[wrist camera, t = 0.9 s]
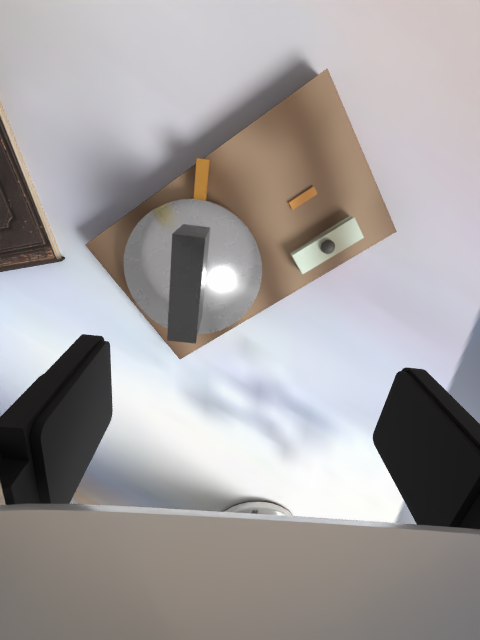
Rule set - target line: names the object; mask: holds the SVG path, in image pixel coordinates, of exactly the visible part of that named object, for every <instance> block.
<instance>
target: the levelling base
mask: <svg viewBox="0 0 480 640" xmlns="http://www.w3.org/2000/svg"><path fill="white" fill-rule="evenodd" d="M204 159H206V160H210V164H209V176H208V188H207V201H211V202H214V203H217V204H219V205H221V206H223V207H225V208H227V209H229V210H230V211H231V212H233V213H234V214H236V215H237V216H238V217H239V218H240V219H241V220H242V221H243V222H244V223H245V225H246V226H247V227H248V229H249V230H250V232H251V233H252V235H253V237H254V239H255V241H256V244H257V246H258V249H259V252H260V256H261V262H262V279H261V284H260V289H259V292H258V294H257V297H256V299H255V301H254V302H253V304H252V306H251V307H250V309H249V310H248V311H247V312H246V313H245V314H244V315H243V317H241V318H240V319H239V320H238V321H237V322H235V323H234V324H232V325H230V326H229V327H227V328H225V329H222V330H220V331H217V332H213V333H208V334H199V335H198V337H197V341H196V344H194V343H185V342H176V341H167V332H168V328H165V327H163V326H162V325H160V324H158V323H156V322H155V321H154V320H152V319H151V318H150V317H149V316H147V315H146V314H145V313H144V312H143V311H142V310H141V308H140V307H139V306H138V305H137V303H136V302H135V300H134V299H133V297H132V295H131V293H130V291H129V288H128V286H127V283H126V279H125V274H124V253H125V248H126V245H127V242H128V239H129V237H130V235H131V233H132V231H133V229H134V228H135V227H136V225H137V224H138V222H139V221H140V220H141V219H142V218H143V217H144V216H145V215H147V214H148V213H149V212H151V211H152V210H153V209H155V208H157V207H159V206H161V205H163V204H166V203H169V202H172V201H176V200H181V199H194V187H195V173H196V164H195V165H194V166H193V167H191V168H190V169H189V170H187V171H186V172H184V173H183V174H182V175H180V176H179V177H178V178H176V179H175V180H173V181H172V182H171V183H169V184H168V185H167V186H165V187H164V188H162V189H161V190H160V191H158V192H157V193H156V194H154V195H153V196H152V197H150V198H149V199H147V200H146V201H145V202H143V203H142V204H141V205H139V206H138V207H136V208H135V209H134V210H132V211H131V212H130V213H128V214H127V215H125V216H124V217H123V218H121V219H120V220H119V221H117V222H116V223H114V224H113V225H112V226H110V227H109V228H108V229H106V230H105V231H104V232H102V233H101V234H99V235H98V236H97V237H95V238H94V239H93V240H91V241H90V242H88V243H87V244H86V246H87V247H88V249H89V250H90V251H91V252H92V254H93V255H94V256H95V257H96V258H97V260H98V261H99V262H100V263H101V264H102V266H103V267H104V268H105V269H106V270H107V272H108V273H109V274H110V275H111V277H112V278H113V279H114V280H115V281H116V283H117V284H118V285H119V286H120V287H121V289H122V290H123V291H124V292H125V293H126V295H127V296H128V297H129V298H130V300H131V301H132V302H133V303H134V304H135V306H136V307H137V308H138V309H139V310H140V312H141V313H142V314H143V315H144V316H145V318H146V319H147V320H148V321H149V323H150V324H151V325H152V326H153V327H154V329H155V330H156V331H157V332H158V333H159V335H160V336H161V337H162V338H163V339H164V341H165V342H166V343H167V344H168V346H169V347H170V348H171V349H172V350H173V352H174V353H175V354H176V355H177V356H178V358H179V359H181V358H183V357H185V356H187V355H188V354H190V353H192V352H193V351H195V350H197V349H198V348H200V347H202V346H203V345H205V344H207V343H209V342H210V341H212V340H214V339H215V338H217V337H219V336H220V335H222V334H224V333H225V332H227V331H229V330H231V329H232V328H234V327H236V326H237V325H239V324H241V323H242V322H244V321H246V320H247V319H249V318H251V317H253V316H254V315H256V314H258V313H259V312H261V311H263V310H264V309H266V308H268V307H270V306H271V305H273V304H275V303H276V302H278V301H280V300H281V299H283V298H285V297H286V296H288V295H290V294H292V293H293V292H295V291H297V290H298V289H300V288H302V287H303V286H305V285H307V284H308V283H310V282H312V281H314V280H315V279H317V278H319V277H320V276H322V275H324V274H325V273H327V272H329V271H330V270H332V269H334V268H336V267H337V266H339V265H341V264H342V263H344V262H346V261H347V260H349V259H351V258H352V257H354V256H356V255H358V254H359V253H361V252H363V251H364V250H366V249H368V248H369V247H371V246H373V245H374V244H376V243H378V242H380V241H381V240H383V239H385V238H386V237H388V236H390V235H391V234H393V233H395V232H397V231H396V229H395V227H394V224H393V222H392V220H391V217H390V215H389V213H388V210H387V208H386V205H385V203H384V201H383V198H382V196H381V194H380V191H379V189H378V187H377V184H376V182H375V180H374V177H373V175H372V172H371V170H370V168H369V165H368V163H367V161H366V158H365V156H364V154H363V151H362V149H361V147H360V144H359V142H358V140H357V137H356V135H355V132H354V130H353V128H352V125H351V123H350V121H349V118H348V116H347V114H346V111H345V109H344V107H343V104H342V102H341V99H340V97H339V95H338V92H337V90H336V88H335V85H334V83H333V81H332V78H331V76H330V74H329V71H328V69H326V70H324V71H323V72H322V73H320V74H319V75H317V76H316V77H315V78H313V79H312V80H311V81H309V82H308V83H307V84H305V85H304V86H302V87H301V88H300V89H298V90H297V91H296V92H294V93H293V94H291V95H290V96H289V97H287V98H286V99H285V100H283V101H282V102H280V103H279V104H278V105H276V106H275V107H274V108H272V109H271V110H269V111H268V112H267V113H265V114H264V115H263V116H261V117H260V118H259V119H257V120H256V121H254V122H253V123H252V124H250V125H249V126H248V127H246V128H245V129H243V130H242V131H241V132H239V133H238V134H237V135H235V136H234V137H232V138H231V139H230V140H228V141H227V142H226V143H224V144H223V145H221V146H220V147H219V148H217V149H216V150H215V151H213V152H212V153H211V154H209V155H208V156H206V157H205V158H204Z"/></svg>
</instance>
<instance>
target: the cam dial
mask: <svg viewBox="0 0 480 640" xmlns="http://www.w3.org/2000/svg"><path fill="white" fill-rule="evenodd" d="M209 164H210V160H206V159H199V158H197V159H196V173H195V187H194V199H181V200H176V201H172V202H169V203H166V204H163V205H161V206H159V207H157V208H155V209H153V210H152V211H151V212H149V213H148V214H147V215H145V216H144V217H143V218H142V219H141V220H140V221H139V222H138V224H137V225H136V227H135V228H134V229H133V231H132V233H131V235H130V237H129V239H128V242H127V245H126V248H125V253H124V274H125V279H126V283H127V286H128V288H129V291H130V293H131V295H132V297H133V299H134V300H135V302H136V303H137V305H138V306H139V307H140V308H141V310H142V311H143V312H144V313H145V314H146V315H147V316H149V317H150V318H151V319H152V320H154V321H155V322H156V323H158V324H160V325H162V326H163V327H165V328H168V332H167V341H176V342H185V343H194V344H196V341H197V337H198V335H199V334H208V333H213V332H217V331H220V330H222V329H225V328H227V327H229V326H230V325H232V324H234V323H235V322H237V321H238V320H239V319H240V318H241V317H243V315H244V314H245V313H246V312H247V311H248V310H249V309H250V307H251V306H252V304H253V302H254V301H255V299H256V297H257V294H258V292H259V289H260V284H261V279H262V262H261V256H260V252H259V249H258V246H257V244H256V241H255V239H254V237H253V235H252V233H251V232H250V230H249V229H248V227H247V226H246V225H245V223H244V222H243V221H242V220H241V219H240V218H239V217H238V216H237V215H236V214H234V213H233V212H231V211H230V210H229V209H227V208H225V207H223V206H221V205H219V204H217V203H214V202H211V201H207V188H208V176H209Z"/></svg>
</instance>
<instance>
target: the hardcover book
mask: <svg viewBox="0 0 480 640" xmlns="http://www.w3.org/2000/svg"><path fill="white" fill-rule="evenodd" d="M64 259H65V257H61V254H60V251H59V249H58V246H57V244H56V241H55V239H54V236H53V234H52V231H51V229H50V226H49V223H48V221H47V218H46V216H45V213H44V211H43V208H42V206H41V203H40V200H39V198H38V195H37V193H36V190H35V188H34V185H33V183H32V180H31V178H30V175H29V172H28V170H27V167H26V165H25V162H24V160H23V157H22V155H21V152H20V149H19V147H18V144H17V142H16V139H15V137H14V134H13V132H12V129H11V127H10V124H9V121H8V119H7V116H6V114H5V111H4V109H3V106H2V104H1V101H0V272H3V271H9V270H15V269H21V268H26V267H32V266H38V265H44V264H49V263H55V262H60V261H63V260H64Z"/></svg>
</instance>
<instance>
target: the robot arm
mask: <svg viewBox="0 0 480 640" xmlns="http://www.w3.org/2000/svg"><path fill="white" fill-rule="evenodd" d="M111 417H112V386H111V360H110V344H109V342H108V341H104V338H103V337H102V336H94V335H85V334H83V335H81V336H80V337H79V338H78V339H77V340H76V341H75V342H74V343H73V344H72V345H71V347H70V348H69V349H68V350H67V351H66V352H65V353H64V354H63V355H62V356H61V357H60V358H59V359H58V360H57V361H56V362H55V363H54V364H53V365H52V366H51V367H50V368H49V369H48V371H47V372H46V373H45V374H43V375H41V376H40V377H39V378H38V379H37V380H36V381H35V382H34V383H33V384H32V385H31V386H30V387H29V388H28V389H27V390H26V391H25V392H24V393H23V394H22V395H21V396H20V397H19V398H18V399H17V400H16V401H15V403H14V404H13V405H12V406H11V407H10V408H9V409H8V410H7V411H6V412H5V413H4V414H3V415H2V416H1V417H0V640H480V424H479V423H478V422H477V421H476V420H475V419H474V418H473V417H472V416H471V415H470V414H469V413H468V412H467V411H466V410H465V409H464V408H463V407H461V405H460V404H459V403H458V402H457V401H456V400H455V399H454V398H453V397H452V396H451V395H449V393H448V392H447V391H446V390H445V389H444V388H443V387H442V386H441V385H440V384H439V383H438V382H437V381H436V380H435V379H434V378H433V377H432V376H431V375H430V374H429V373H428V372H427V371H425V370H423V369H415V368H404V369H403V370H402V371H400V372H398V373H397V374H396V376H395V379H394V381H393V384H392V387H391V389H390V392H389V394H388V397H387V400H386V402H385V405H384V407H383V410H382V412H381V415H380V418H379V420H378V423H377V425H376V428H375V431H374V433H373V442H374V445H375V447H376V449H377V451H378V452H379V454H380V456H381V458H382V460H383V462H384V464H385V465H386V467H387V469H388V471H389V473H390V475H391V477H392V479H393V480H394V482H395V484H396V486H397V488H398V490H399V492H400V494H401V495H402V497H403V499H404V501H405V503H406V504H407V507H408V508H409V510H410V512H411V514H412V516H413V518H414V520H415V522H416V523H417V525H414V524H401V523H387V522H373V521H358V520H343V519H328V518H313V517H297V516H293V515H292V514H291V513H290V512H289V511H287V510H286V509H284V508H282V507H281V506H278V505H275V504H272V503H267V502H247V503H242V504H238V505H236V506H233V507H231V508H229V509H227V510H226V511H224V512H218V511H201V510H184V509H167V508H150V507H131V506H108V505H84V504H69V503H70V501H71V499H72V497H73V495H74V493H75V491H76V489H77V487H78V485H79V483H80V481H81V479H82V477H83V475H84V473H85V471H86V469H87V467H88V465H89V463H90V461H91V459H92V457H93V455H94V453H95V451H96V449H97V447H98V445H99V443H100V441H101V439H102V437H103V435H104V433H105V431H106V429H107V427H108V425H109V423H110V421H111Z"/></svg>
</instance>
